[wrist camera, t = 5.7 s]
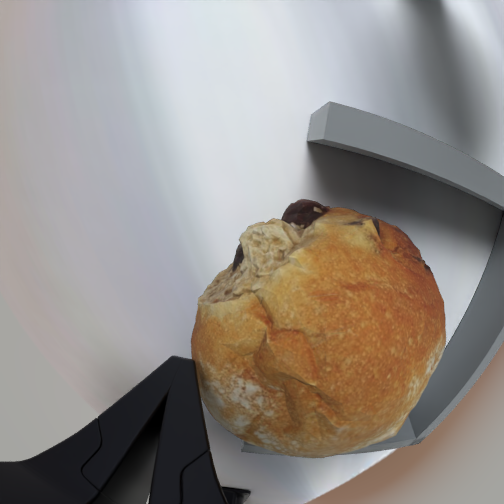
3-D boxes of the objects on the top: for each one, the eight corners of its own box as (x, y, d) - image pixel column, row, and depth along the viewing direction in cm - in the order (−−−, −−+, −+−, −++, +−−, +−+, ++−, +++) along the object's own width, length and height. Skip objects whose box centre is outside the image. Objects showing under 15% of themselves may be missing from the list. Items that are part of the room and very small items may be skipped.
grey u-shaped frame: (408, 412, 15) (418, 443, 12) (245, 411, 15) (241, 451, 12) (517, 198, 8) (554, 215, 6) (311, 114, 8) (329, 101, 6)
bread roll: (219, 321, 16) (204, 451, 11) (185, 172, 9) (99, 438, 3) (375, 322, 16) (389, 444, 10) (451, 190, 8) (538, 392, 3)
